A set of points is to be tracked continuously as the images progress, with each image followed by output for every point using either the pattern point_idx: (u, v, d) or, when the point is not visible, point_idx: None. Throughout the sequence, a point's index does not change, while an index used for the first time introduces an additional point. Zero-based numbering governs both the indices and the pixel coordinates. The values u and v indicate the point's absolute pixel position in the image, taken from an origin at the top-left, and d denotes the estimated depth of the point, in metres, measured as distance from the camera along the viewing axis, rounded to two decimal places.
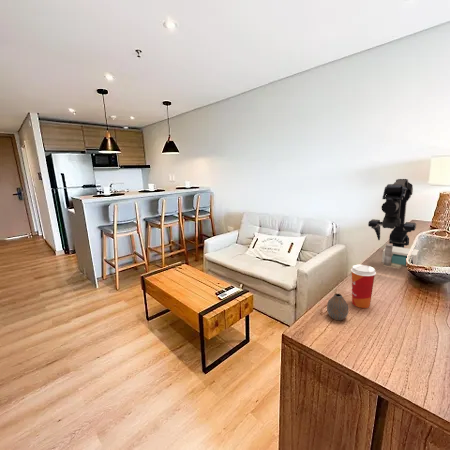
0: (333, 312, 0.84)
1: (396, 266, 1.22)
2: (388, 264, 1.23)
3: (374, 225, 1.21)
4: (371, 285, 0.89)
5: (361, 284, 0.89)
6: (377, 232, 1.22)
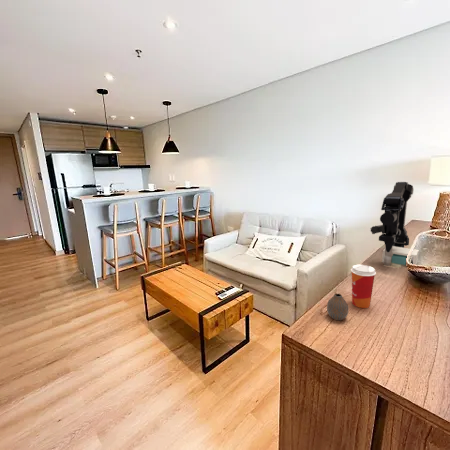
0: (333, 312, 0.84)
1: (396, 266, 1.22)
2: (388, 264, 1.23)
3: None
4: (371, 285, 0.89)
5: (361, 284, 0.89)
6: None
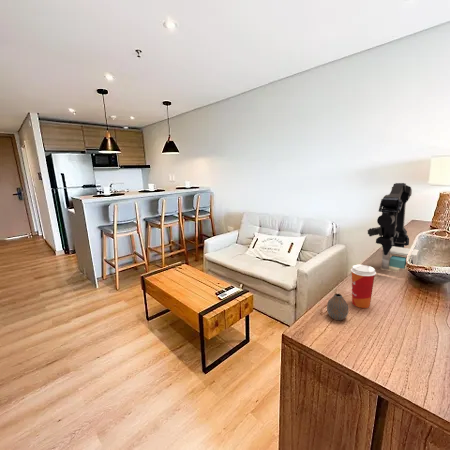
0: (333, 312, 0.84)
1: (394, 270, 1.18)
2: (386, 267, 1.19)
3: None
4: (371, 285, 0.89)
5: (361, 284, 0.89)
6: None
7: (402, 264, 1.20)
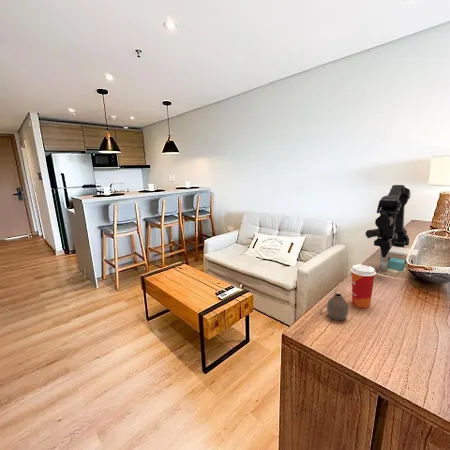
0: (333, 312, 0.84)
1: (392, 272, 1.16)
2: (384, 270, 1.17)
3: None
4: (371, 285, 0.89)
5: (361, 284, 0.89)
6: None
7: (401, 266, 1.17)
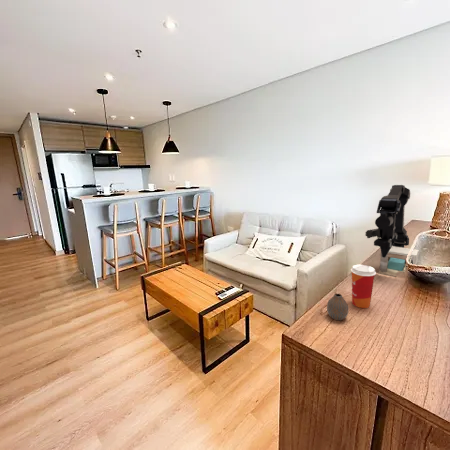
0: (333, 312, 0.84)
1: (392, 272, 1.16)
2: (384, 270, 1.17)
3: None
4: (371, 285, 0.89)
5: (361, 284, 0.89)
6: None
7: (401, 267, 1.17)
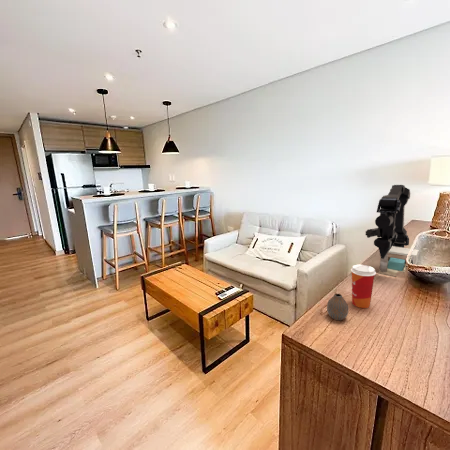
0: (333, 312, 0.84)
1: (392, 272, 1.16)
2: (384, 270, 1.17)
3: None
4: (371, 285, 0.89)
5: (361, 284, 0.89)
6: None
7: (401, 267, 1.17)
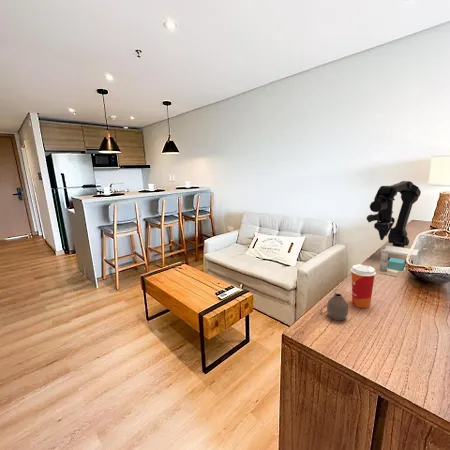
0: (333, 312, 0.84)
1: (392, 272, 1.16)
2: (384, 270, 1.17)
3: None
4: (371, 285, 0.89)
5: (361, 284, 0.89)
6: None
7: (401, 267, 1.17)
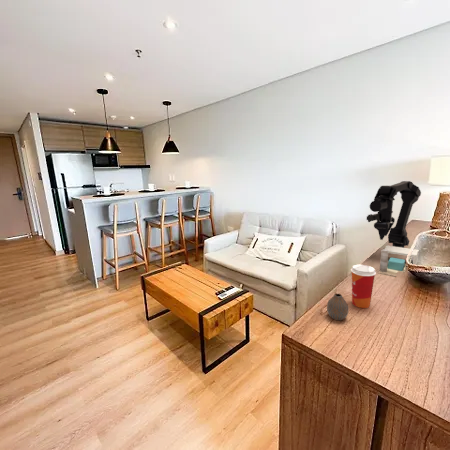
0: (333, 312, 0.84)
1: (392, 272, 1.16)
2: (384, 270, 1.17)
3: None
4: (371, 285, 0.89)
5: (361, 284, 0.89)
6: None
7: (401, 267, 1.17)
